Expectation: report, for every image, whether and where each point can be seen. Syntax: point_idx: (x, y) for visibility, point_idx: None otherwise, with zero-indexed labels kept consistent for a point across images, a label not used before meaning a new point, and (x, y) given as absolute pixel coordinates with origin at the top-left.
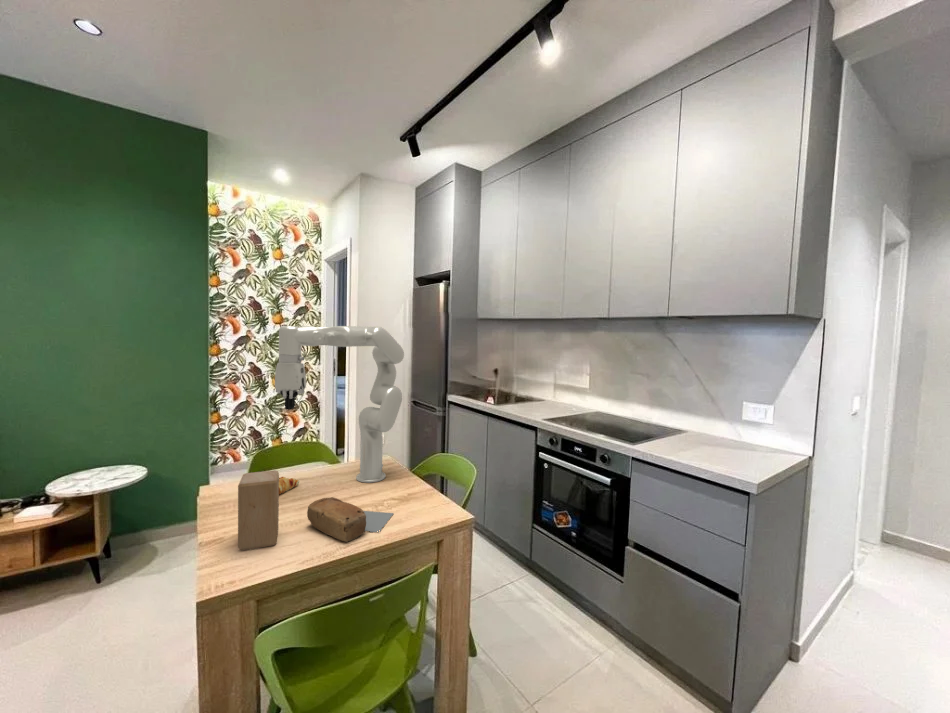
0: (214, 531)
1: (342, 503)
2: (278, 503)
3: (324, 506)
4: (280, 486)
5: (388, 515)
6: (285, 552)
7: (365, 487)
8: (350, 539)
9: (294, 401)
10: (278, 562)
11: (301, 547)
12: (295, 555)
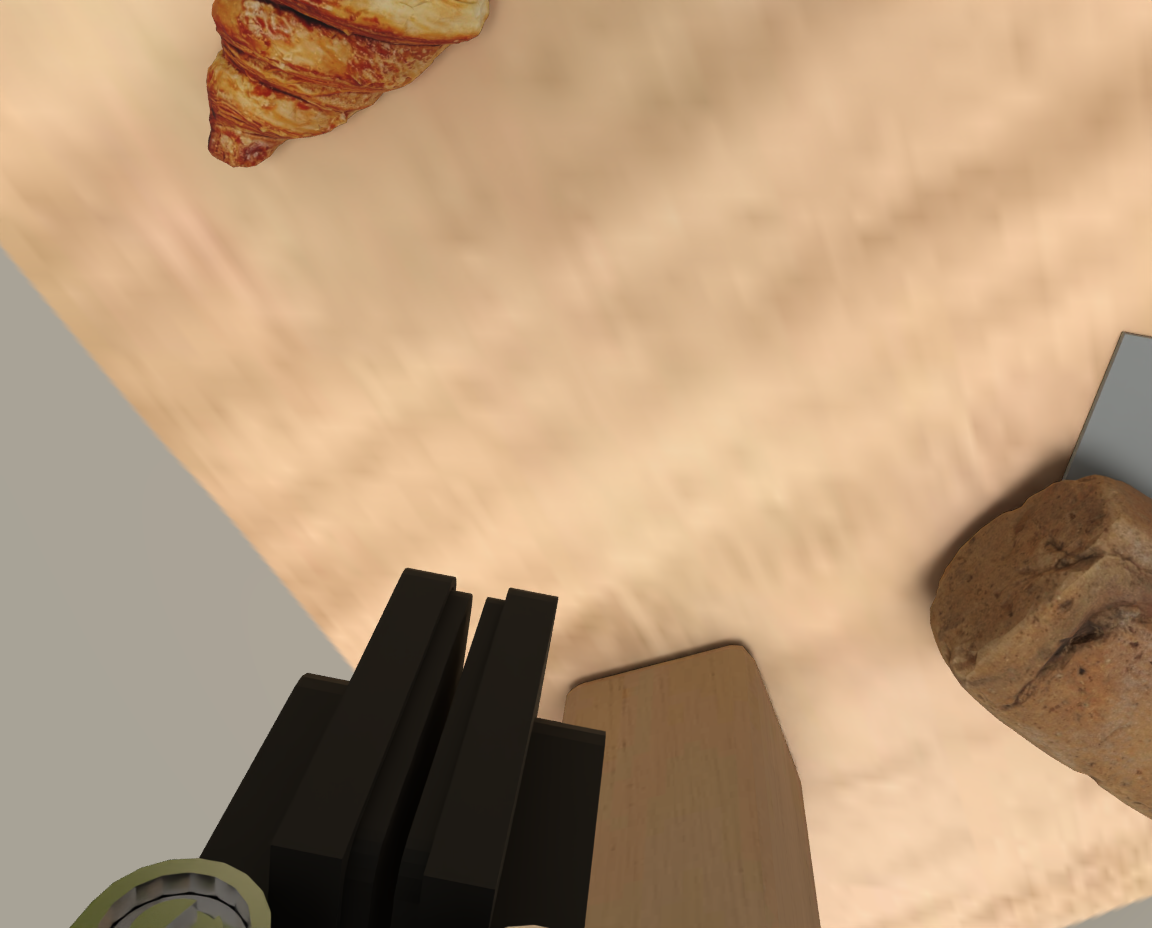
0: (364, 619)
1: None
2: (770, 791)
3: (1099, 737)
4: (471, 17)
5: None
6: (873, 835)
7: None
8: None
9: (588, 878)
10: (868, 904)
11: (946, 800)
12: (934, 861)
